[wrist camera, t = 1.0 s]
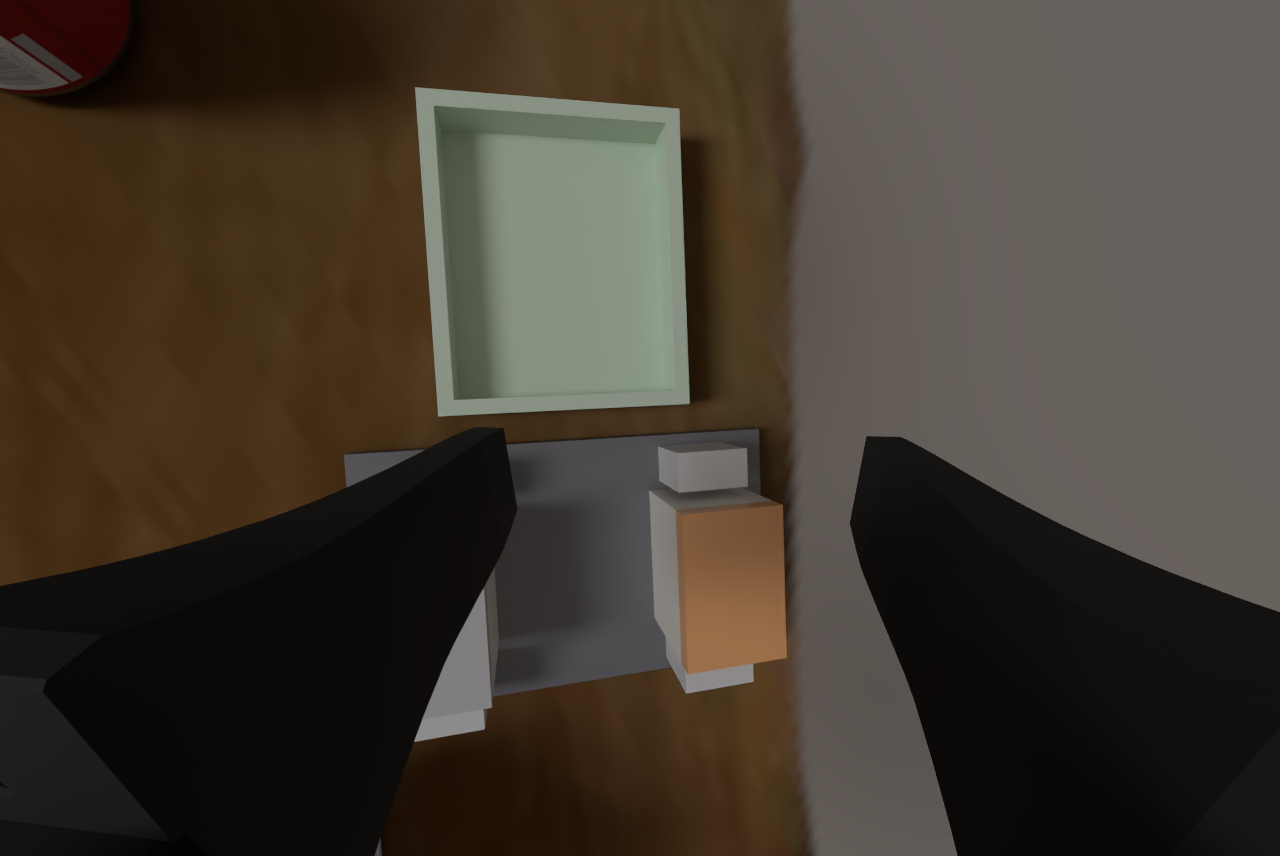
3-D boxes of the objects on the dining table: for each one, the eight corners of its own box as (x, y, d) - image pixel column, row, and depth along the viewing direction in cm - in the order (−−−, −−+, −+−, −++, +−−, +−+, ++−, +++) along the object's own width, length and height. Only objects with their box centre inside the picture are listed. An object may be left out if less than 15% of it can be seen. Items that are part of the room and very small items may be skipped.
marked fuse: (734, 606, 25) (786, 657, 20) (654, 617, 24) (688, 674, 19) (731, 483, 24) (783, 505, 19) (649, 490, 23) (681, 514, 19)
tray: (674, 403, 24) (689, 403, 22) (447, 414, 22) (438, 416, 20) (664, 136, 23) (679, 108, 21) (426, 120, 21) (414, 87, 19)
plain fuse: (498, 639, 22) (491, 707, 17) (400, 653, 21) (363, 729, 17) (490, 503, 22) (480, 534, 17) (389, 512, 21) (348, 547, 16)
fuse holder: (757, 644, 26) (796, 685, 22) (371, 705, 22) (340, 768, 18) (751, 428, 25) (790, 433, 21) (350, 452, 21) (313, 464, 18)
